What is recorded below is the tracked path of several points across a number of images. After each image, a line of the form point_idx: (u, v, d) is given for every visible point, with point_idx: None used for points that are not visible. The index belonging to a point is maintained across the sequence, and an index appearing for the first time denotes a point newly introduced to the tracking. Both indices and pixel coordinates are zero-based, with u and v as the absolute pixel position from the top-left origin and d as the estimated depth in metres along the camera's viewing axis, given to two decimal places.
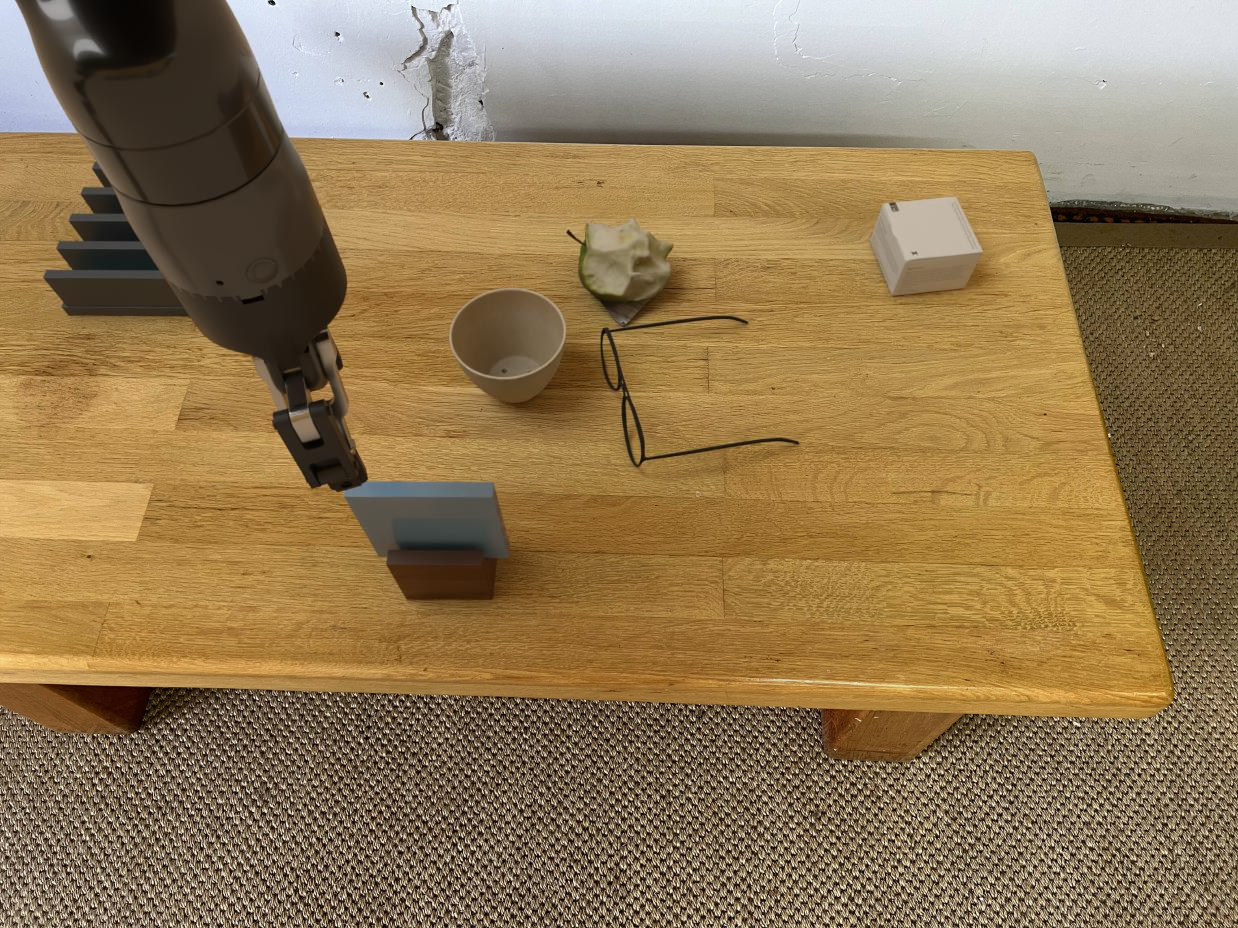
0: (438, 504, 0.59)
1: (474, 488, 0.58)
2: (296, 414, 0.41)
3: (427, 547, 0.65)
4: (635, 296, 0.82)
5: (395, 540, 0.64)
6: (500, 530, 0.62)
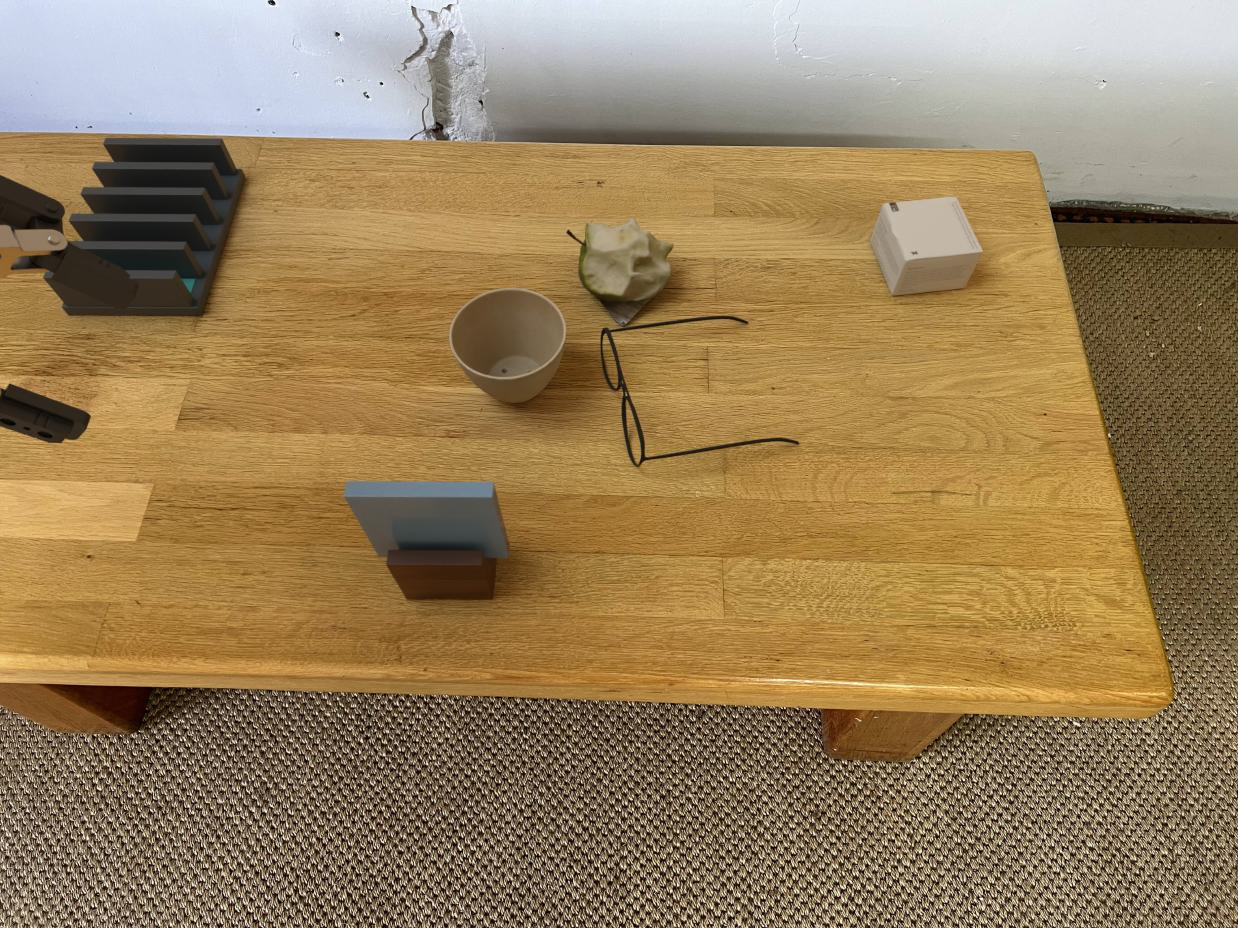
0: (438, 504, 0.59)
1: (474, 488, 0.58)
2: None
3: (427, 547, 0.65)
4: (635, 296, 0.82)
5: (395, 540, 0.64)
6: (500, 530, 0.62)
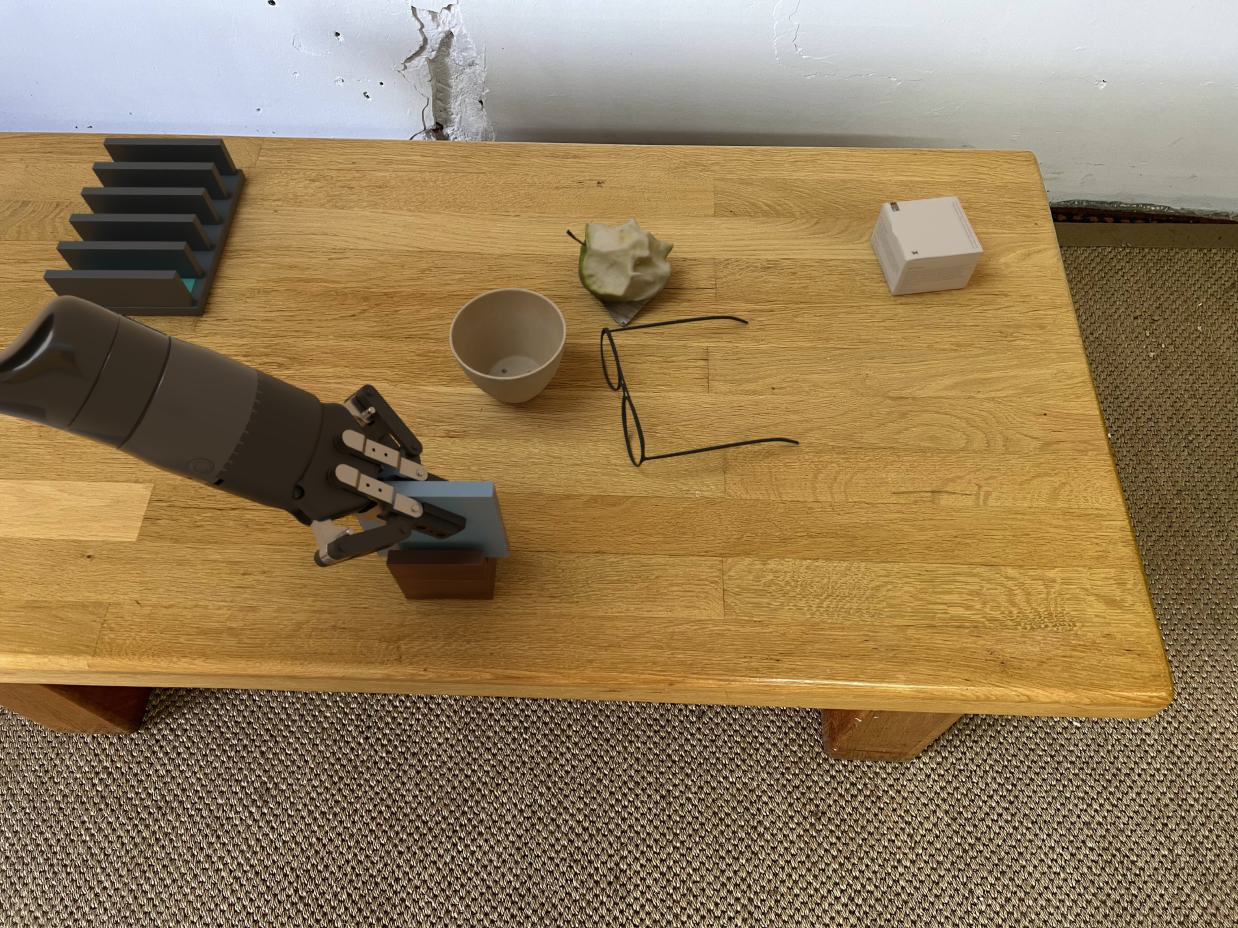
0: (438, 504, 0.59)
1: (474, 488, 0.58)
2: (324, 558, 0.53)
3: (427, 547, 0.65)
4: (635, 296, 0.82)
5: None
6: (500, 530, 0.62)
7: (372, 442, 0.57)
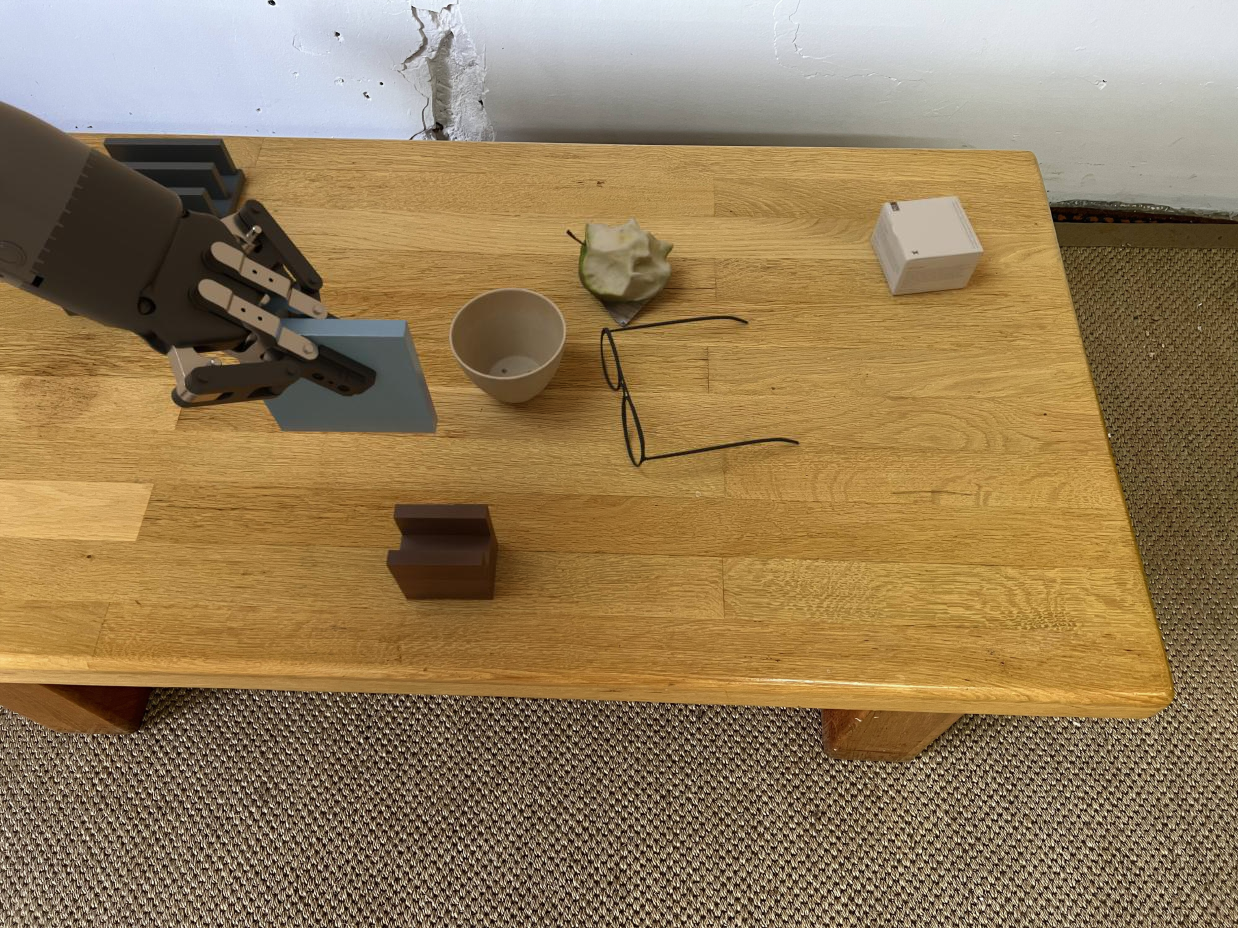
0: (340, 348, 0.48)
1: (382, 326, 0.48)
2: (182, 393, 0.42)
3: (337, 416, 0.54)
4: (635, 296, 0.82)
5: (296, 405, 0.53)
6: (420, 390, 0.52)
7: (253, 263, 0.46)
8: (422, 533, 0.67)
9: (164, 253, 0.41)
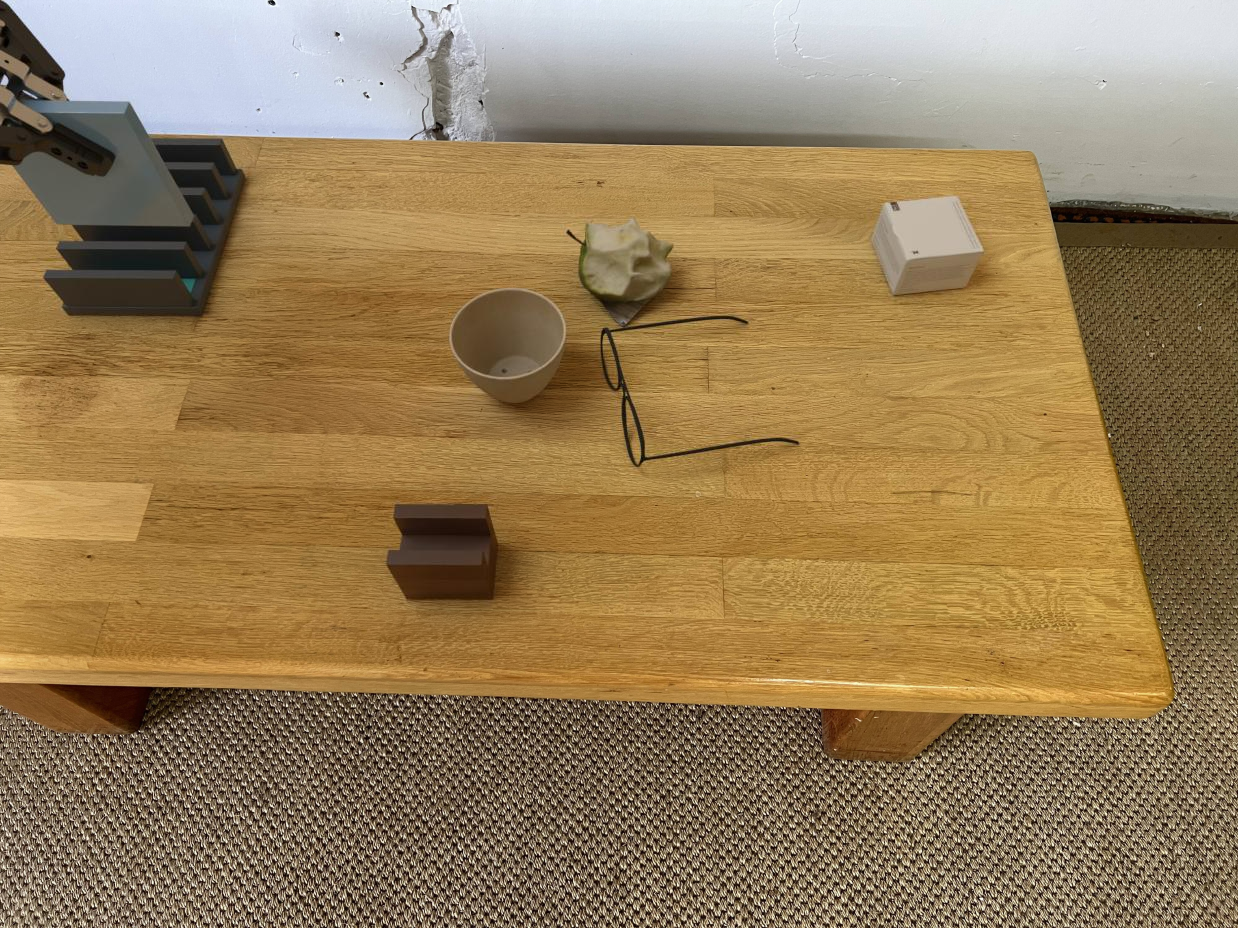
0: (75, 126, 0.57)
1: (108, 106, 0.56)
2: None
3: (98, 206, 0.63)
4: (635, 296, 0.82)
5: (59, 194, 0.62)
6: (159, 175, 0.60)
7: None
8: (422, 533, 0.67)
9: None
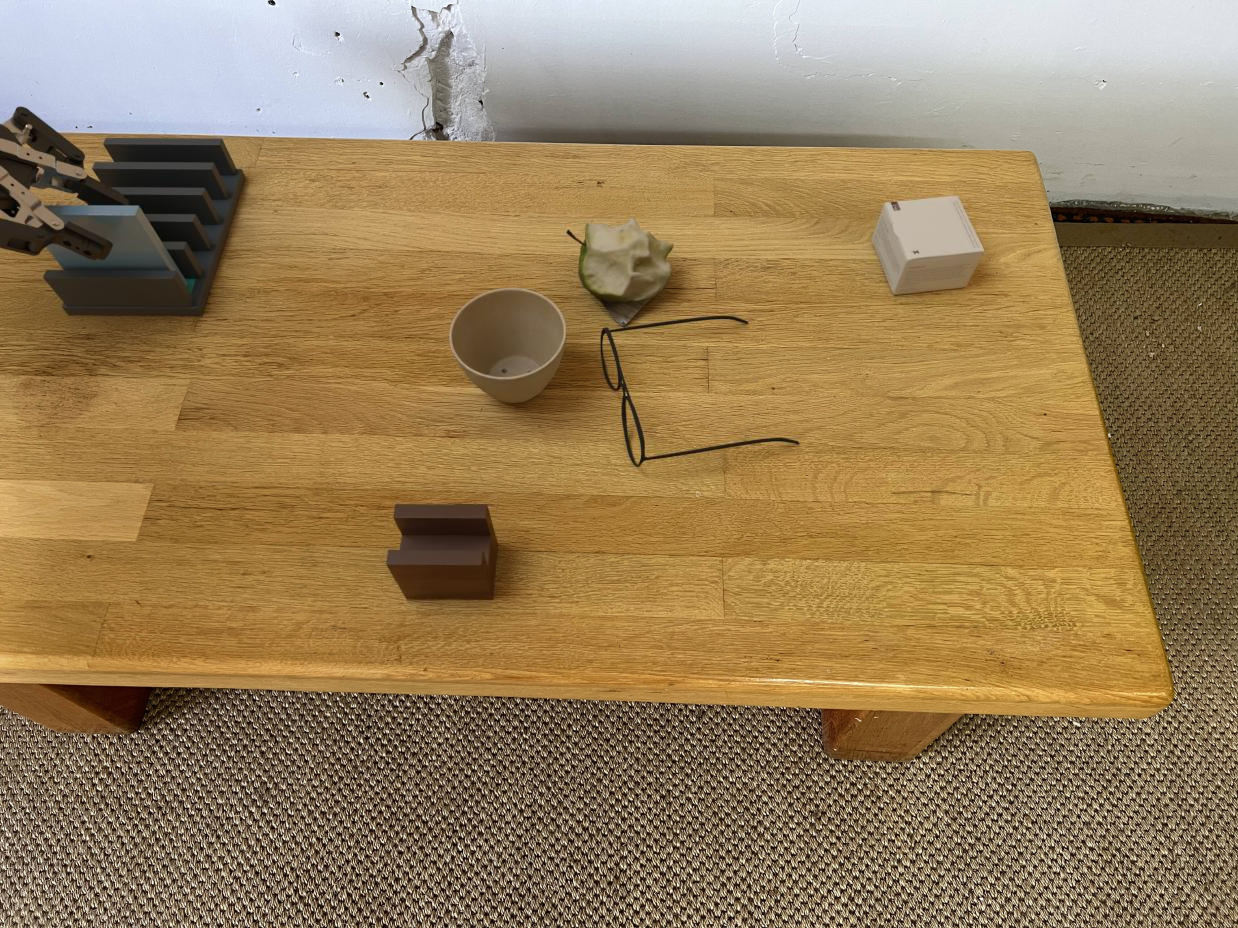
0: (97, 224, 0.76)
1: (122, 209, 0.75)
2: None
3: None
4: (635, 296, 0.82)
5: None
6: (161, 257, 0.79)
7: (26, 153, 0.72)
8: (422, 533, 0.67)
9: None
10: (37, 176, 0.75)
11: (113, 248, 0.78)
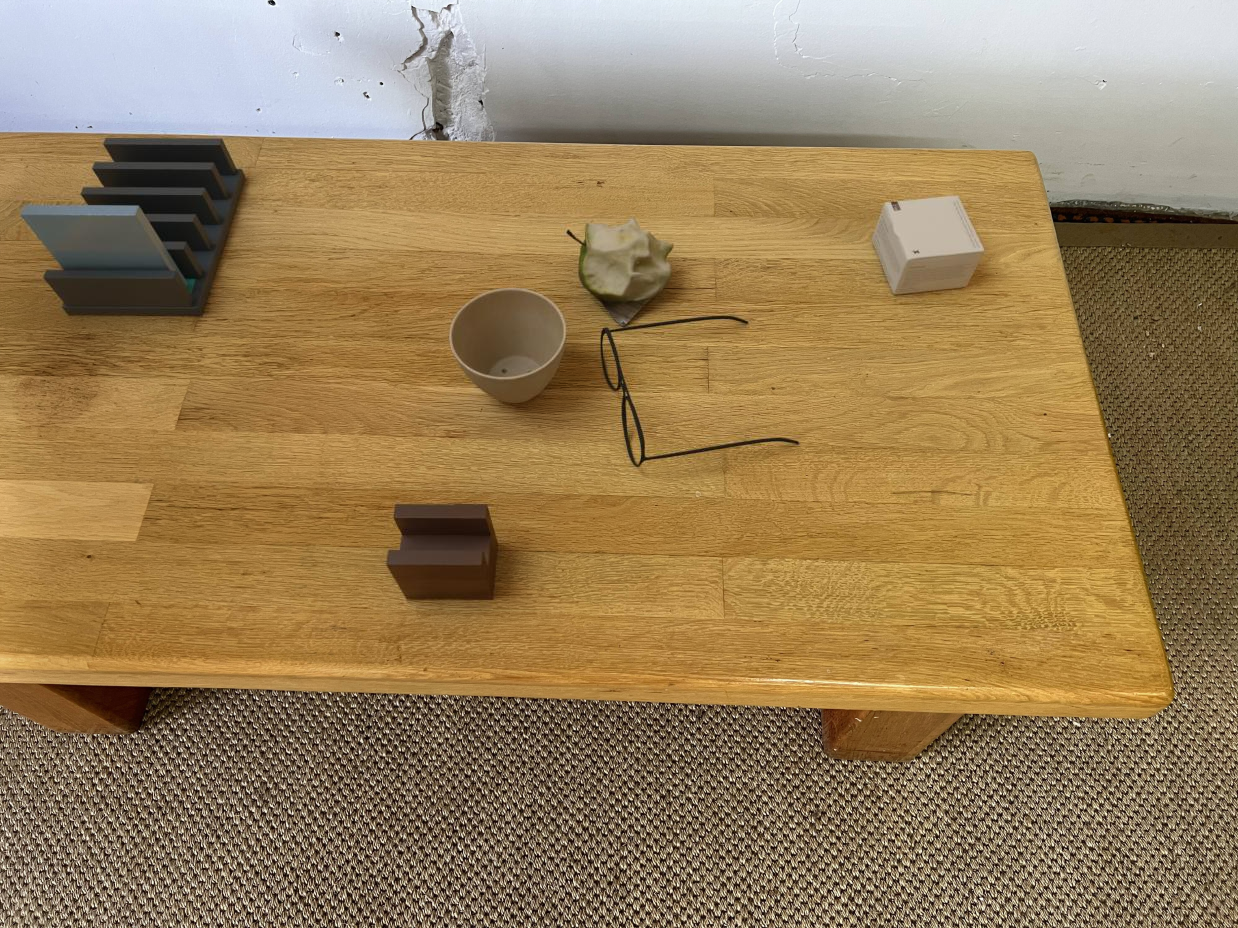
0: (97, 224, 0.76)
1: (122, 209, 0.75)
2: None
3: None
4: (635, 296, 0.82)
5: None
6: (161, 257, 0.79)
7: None
8: (422, 533, 0.67)
9: None
10: None
11: (113, 248, 0.78)
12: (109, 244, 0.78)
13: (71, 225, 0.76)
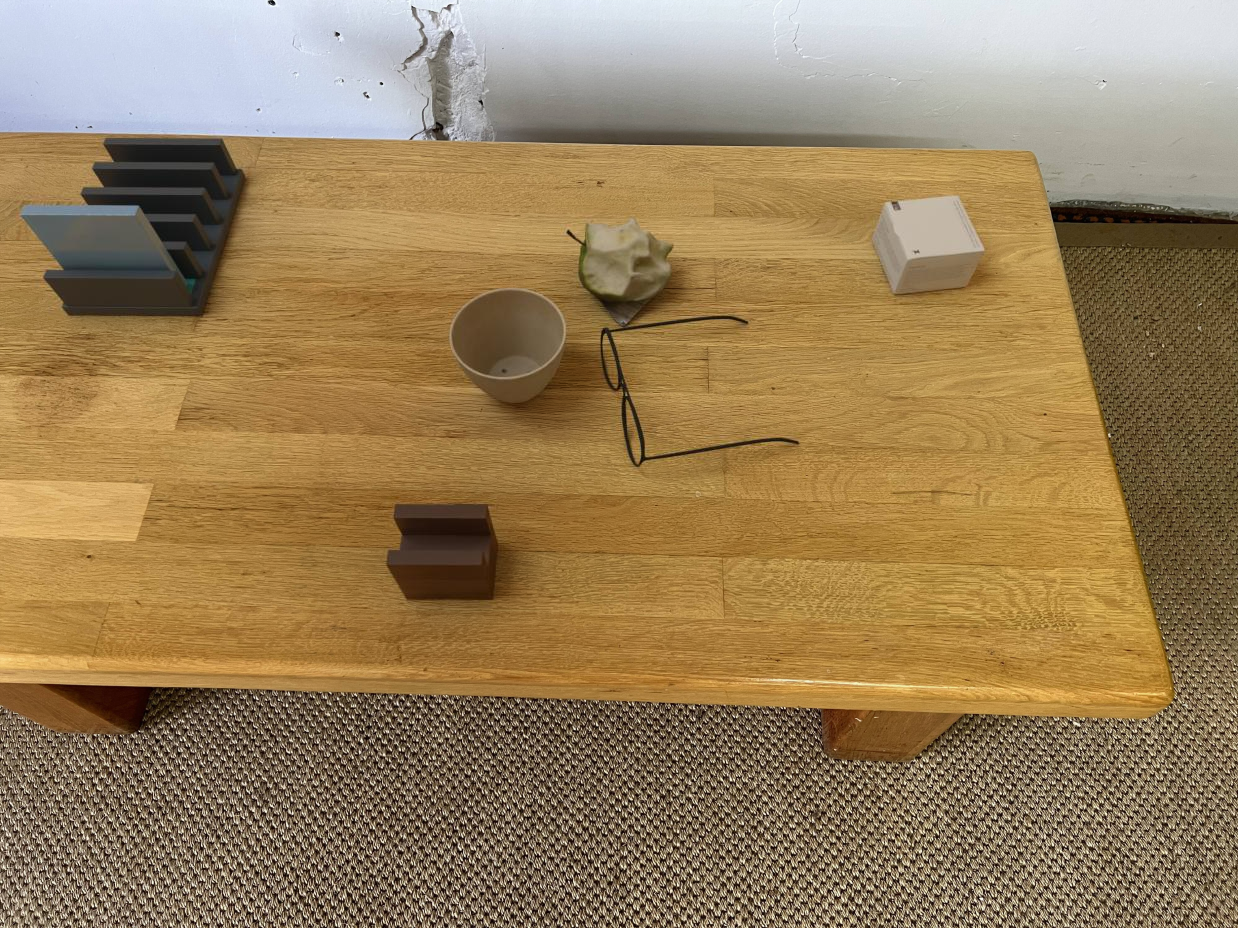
0: (97, 224, 0.76)
1: (122, 209, 0.75)
2: None
3: None
4: (635, 296, 0.82)
5: None
6: (161, 257, 0.79)
7: None
8: (422, 533, 0.67)
9: None
10: None
11: (113, 248, 0.78)
12: (109, 244, 0.78)
13: (71, 225, 0.76)
